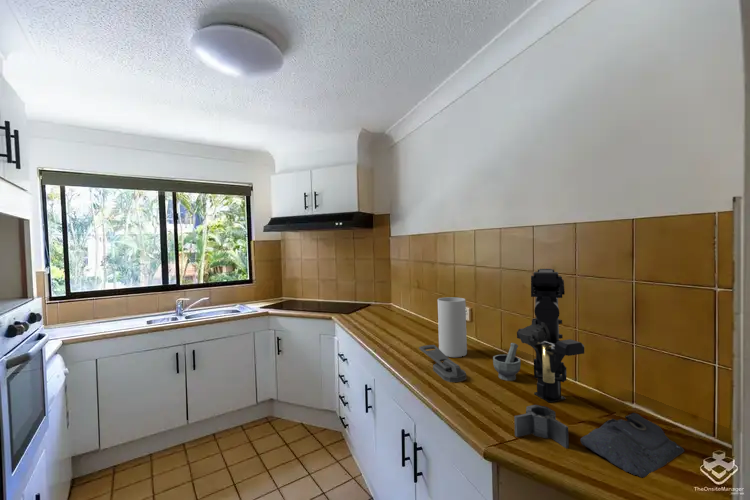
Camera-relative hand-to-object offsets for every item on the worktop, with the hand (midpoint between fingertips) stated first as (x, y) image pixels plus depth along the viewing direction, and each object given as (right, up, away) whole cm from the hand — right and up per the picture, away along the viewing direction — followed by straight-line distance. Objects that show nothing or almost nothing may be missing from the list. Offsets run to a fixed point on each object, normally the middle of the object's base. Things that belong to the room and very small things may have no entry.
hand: (548, 370), depth 91 cm
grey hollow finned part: (-7, -13, -10) cm, 18 cm away
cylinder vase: (-14, -14, +56) cm, 60 cm away
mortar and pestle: (0, -13, +28) cm, 31 cm away
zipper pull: (-23, -14, +37) cm, 46 cm away
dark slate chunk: (+11, -13, -14) cm, 23 cm away
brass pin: (0, -3, 0) cm, 3 cm away
